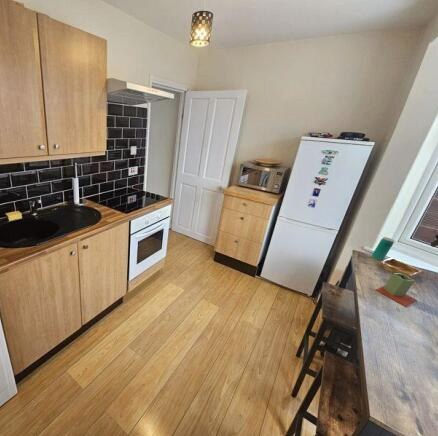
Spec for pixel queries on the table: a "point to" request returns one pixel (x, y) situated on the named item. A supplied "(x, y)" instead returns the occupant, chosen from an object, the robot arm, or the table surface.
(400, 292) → the green basket
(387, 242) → the beverage can
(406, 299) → the mat
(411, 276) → the rattan basket
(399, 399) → the table surface
